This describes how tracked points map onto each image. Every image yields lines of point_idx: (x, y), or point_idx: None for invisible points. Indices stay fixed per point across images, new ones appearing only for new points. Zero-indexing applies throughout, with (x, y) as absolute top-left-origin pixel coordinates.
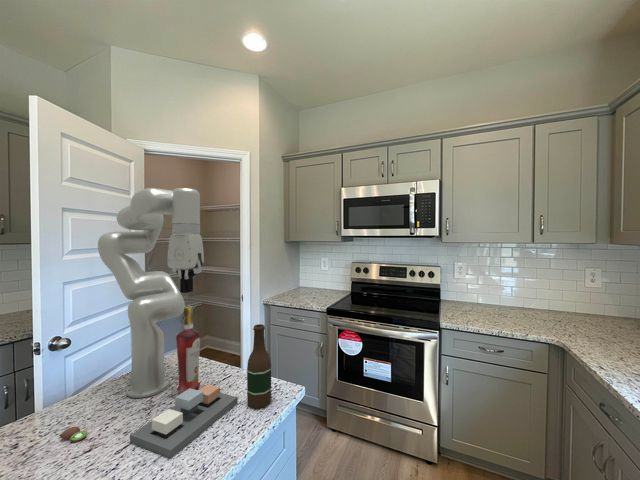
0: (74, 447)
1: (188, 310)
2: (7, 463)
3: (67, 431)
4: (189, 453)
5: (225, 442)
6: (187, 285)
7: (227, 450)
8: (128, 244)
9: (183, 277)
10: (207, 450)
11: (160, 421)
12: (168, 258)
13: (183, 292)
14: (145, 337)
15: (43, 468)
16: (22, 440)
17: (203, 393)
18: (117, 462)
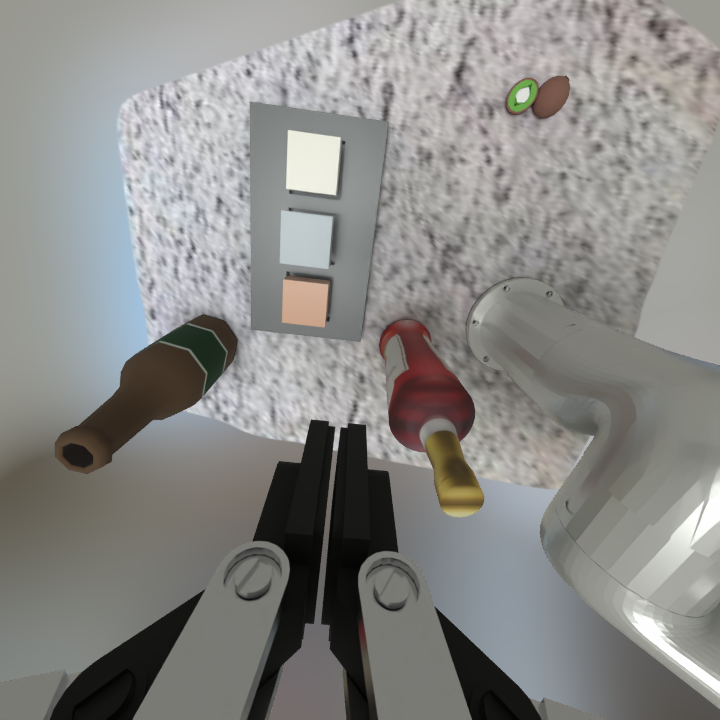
0: (503, 71)
1: (445, 479)
2: None
3: (556, 83)
4: (231, 136)
5: (184, 192)
6: (281, 489)
7: (162, 170)
8: None
9: (343, 591)
10: (201, 157)
11: (311, 137)
12: None
13: (326, 421)
14: (585, 351)
15: None
16: (659, 51)
17: (301, 284)
18: (360, 59)
